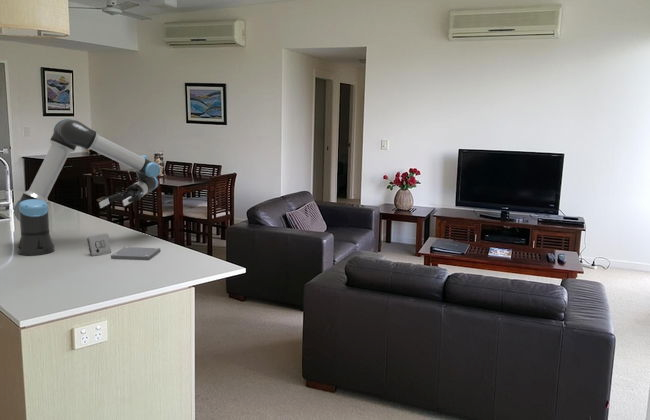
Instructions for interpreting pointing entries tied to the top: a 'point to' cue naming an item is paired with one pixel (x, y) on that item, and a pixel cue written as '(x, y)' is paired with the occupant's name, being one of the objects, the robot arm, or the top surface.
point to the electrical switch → (99, 244)
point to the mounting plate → (135, 253)
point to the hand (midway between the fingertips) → (111, 204)
